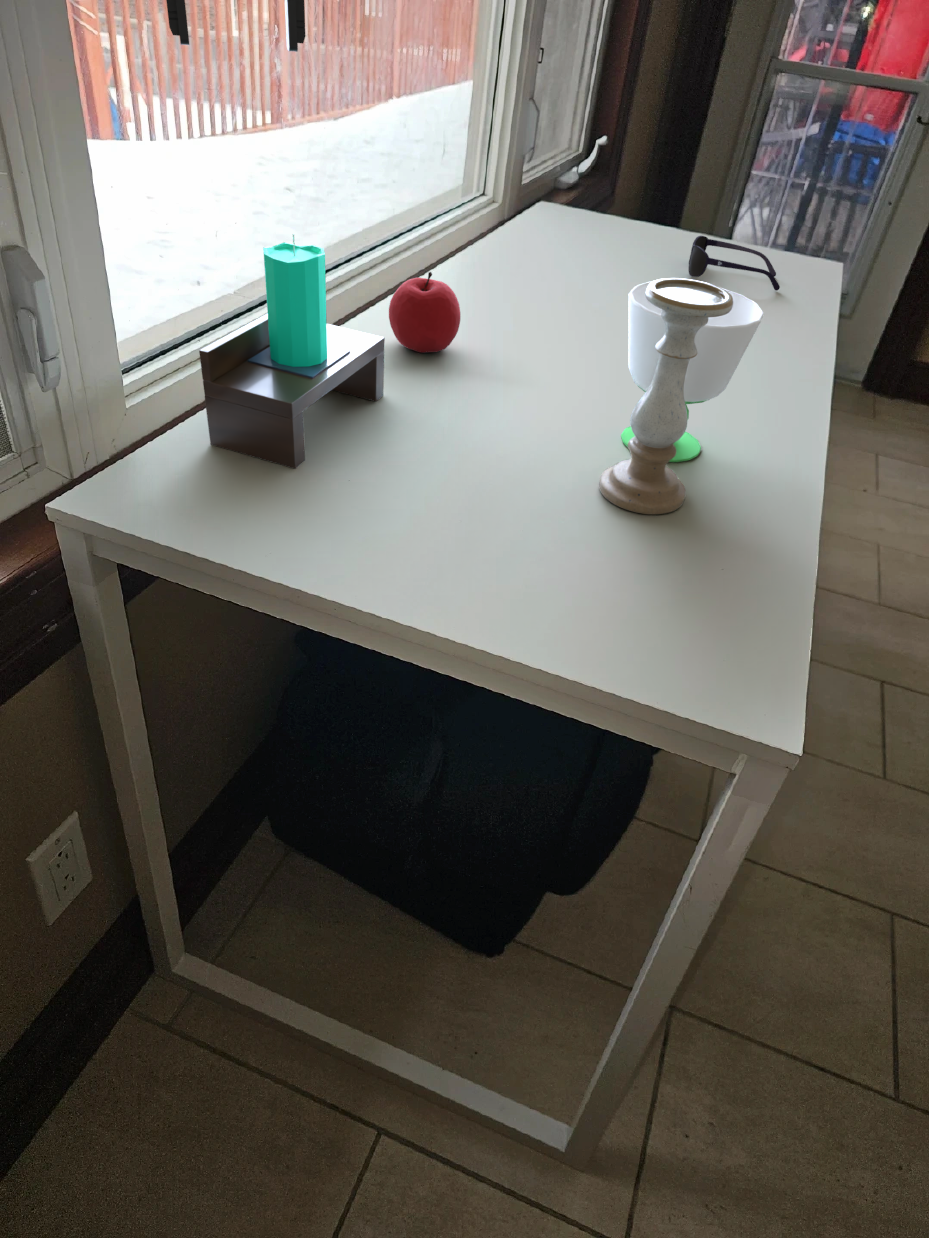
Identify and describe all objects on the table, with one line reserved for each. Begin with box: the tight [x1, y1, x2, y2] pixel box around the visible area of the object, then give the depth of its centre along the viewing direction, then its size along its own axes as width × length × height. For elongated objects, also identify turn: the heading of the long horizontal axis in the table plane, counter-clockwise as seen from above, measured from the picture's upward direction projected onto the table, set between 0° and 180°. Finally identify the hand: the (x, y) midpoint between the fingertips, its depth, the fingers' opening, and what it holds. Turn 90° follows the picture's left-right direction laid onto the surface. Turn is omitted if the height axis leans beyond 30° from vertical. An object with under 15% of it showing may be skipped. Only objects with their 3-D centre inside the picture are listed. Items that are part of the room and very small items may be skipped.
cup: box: [620, 280, 765, 463], centre depth 90 cm, size 14×14×16 cm
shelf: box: [198, 312, 385, 469], centre depth 89 cm, size 20×10×10 cm, turn 158°
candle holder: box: [598, 277, 733, 515], centre depth 79 cm, size 9×9×20 cm
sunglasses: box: [688, 235, 781, 291], centre depth 145 cm, size 14×16×5 cm
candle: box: [262, 233, 328, 367], centre depth 84 cm, size 6×6×12 cm
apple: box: [388, 271, 461, 354], centre depth 108 cm, size 9×9×10 cm
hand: (239, 47), depth 68 cm, fingers open, 8 cm apart
